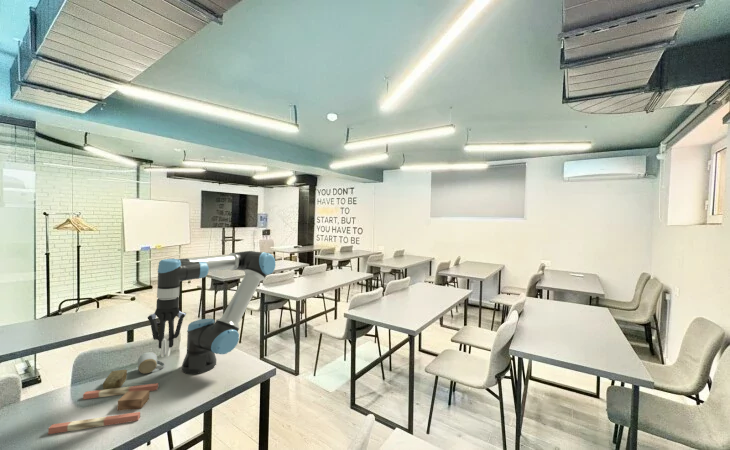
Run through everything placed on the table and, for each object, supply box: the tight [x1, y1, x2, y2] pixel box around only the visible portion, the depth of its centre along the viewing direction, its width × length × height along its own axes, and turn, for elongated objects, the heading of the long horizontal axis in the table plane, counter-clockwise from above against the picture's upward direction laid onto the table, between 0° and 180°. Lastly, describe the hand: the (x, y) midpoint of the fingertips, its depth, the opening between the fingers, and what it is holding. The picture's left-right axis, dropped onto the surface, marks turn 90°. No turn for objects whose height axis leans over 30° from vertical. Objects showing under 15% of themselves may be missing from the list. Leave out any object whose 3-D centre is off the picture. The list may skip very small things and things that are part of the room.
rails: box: [67, 385, 132, 432], centre depth 111 cm, size 10×22×2 cm, turn 20°
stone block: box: [102, 369, 128, 390], centre depth 126 cm, size 6×12×5 cm, turn 26°
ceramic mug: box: [137, 351, 165, 375], centre depth 141 cm, size 11×8×8 cm
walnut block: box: [116, 390, 151, 411], centre depth 114 cm, size 8×6×4 cm
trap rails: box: [47, 382, 159, 435], centre depth 112 cm, size 25×22×2 cm
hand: (165, 355), depth 118 cm, fingers closed
